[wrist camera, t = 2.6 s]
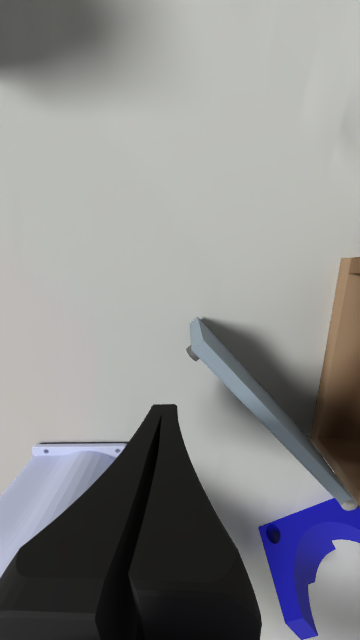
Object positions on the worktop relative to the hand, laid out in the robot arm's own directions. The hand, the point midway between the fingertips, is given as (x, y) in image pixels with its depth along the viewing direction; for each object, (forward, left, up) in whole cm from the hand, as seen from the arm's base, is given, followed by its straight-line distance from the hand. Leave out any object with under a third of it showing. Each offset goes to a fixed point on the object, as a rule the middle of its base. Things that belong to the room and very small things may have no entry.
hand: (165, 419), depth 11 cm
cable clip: (+15, -19, -6) cm, 24 cm away
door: (+7, -2, -5) cm, 8 cm away
